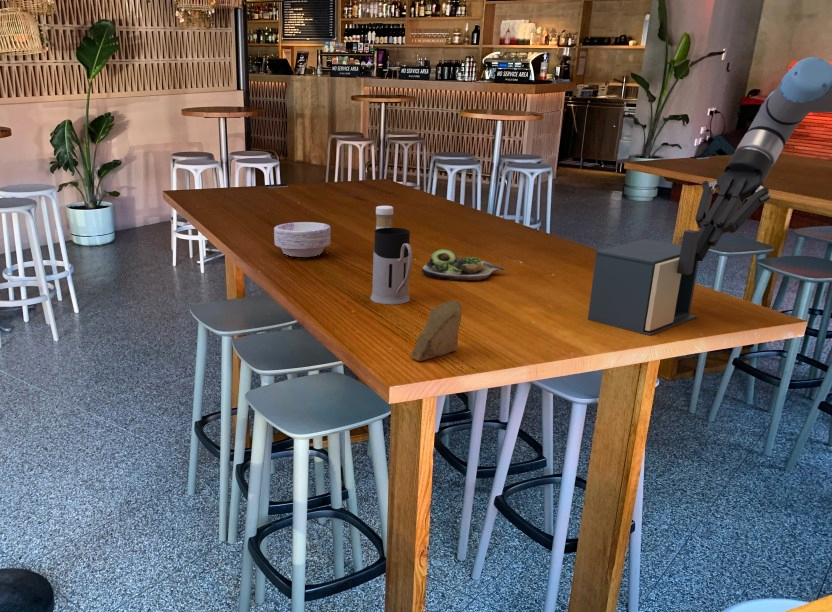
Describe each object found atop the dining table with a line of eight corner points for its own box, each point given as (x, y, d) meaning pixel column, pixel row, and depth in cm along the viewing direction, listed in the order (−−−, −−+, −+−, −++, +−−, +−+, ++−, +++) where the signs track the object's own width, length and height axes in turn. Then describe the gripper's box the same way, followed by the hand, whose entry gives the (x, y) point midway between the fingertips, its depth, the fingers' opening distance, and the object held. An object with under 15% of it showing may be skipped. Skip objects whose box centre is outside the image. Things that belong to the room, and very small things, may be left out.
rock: (419, 356, 133) (474, 343, 135) (405, 309, 135) (459, 297, 137) (405, 373, 144) (456, 361, 145) (392, 329, 145) (443, 318, 147)
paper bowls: (282, 248, 223) (281, 219, 220) (335, 250, 220) (335, 221, 217) (268, 260, 209) (267, 230, 206) (324, 262, 206) (324, 232, 203)
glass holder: (400, 292, 179) (402, 225, 174) (427, 309, 167) (431, 238, 161) (364, 295, 177) (365, 228, 171) (389, 313, 164) (391, 241, 159)
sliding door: (683, 324, 154) (699, 231, 147) (659, 333, 149) (675, 237, 142) (668, 321, 156) (684, 228, 149) (644, 330, 151) (659, 234, 144)
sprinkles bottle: (394, 256, 213) (396, 206, 208) (387, 259, 209) (388, 208, 204) (379, 254, 215) (380, 204, 210) (371, 258, 211) (372, 207, 206)
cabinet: (696, 317, 161) (709, 249, 155) (650, 335, 150) (662, 263, 145) (635, 303, 170) (645, 238, 165) (587, 319, 160) (596, 250, 155)
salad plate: (508, 268, 200) (510, 250, 198) (497, 285, 185) (499, 265, 183) (433, 262, 206) (434, 244, 205) (416, 278, 191) (417, 259, 189)
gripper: (791, 176, 153) (734, 274, 149) (723, 169, 162) (668, 262, 158) (785, 149, 148) (726, 250, 144) (716, 144, 157) (659, 239, 153)
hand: (696, 256), depth 151 cm, fingers closed
